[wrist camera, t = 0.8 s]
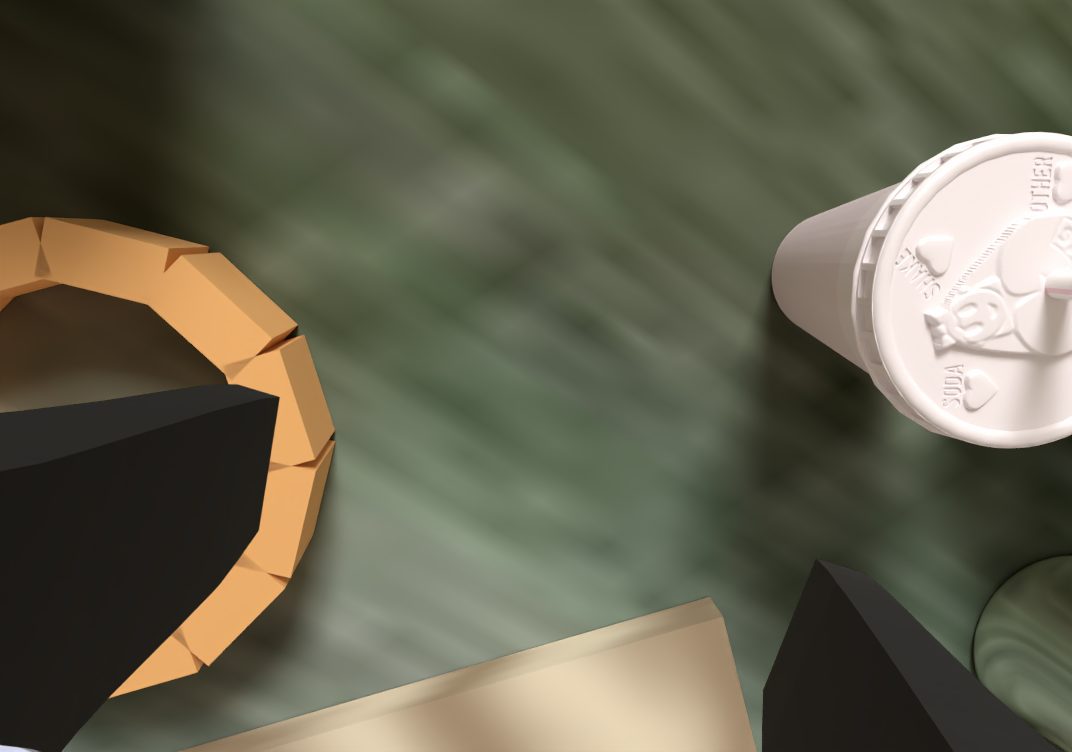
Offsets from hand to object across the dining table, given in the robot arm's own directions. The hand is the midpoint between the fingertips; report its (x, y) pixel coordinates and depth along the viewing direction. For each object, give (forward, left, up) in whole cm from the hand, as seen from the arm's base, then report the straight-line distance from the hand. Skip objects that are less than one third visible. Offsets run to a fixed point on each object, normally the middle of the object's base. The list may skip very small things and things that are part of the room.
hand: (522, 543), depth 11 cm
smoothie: (+11, 0, -16) cm, 19 cm away
